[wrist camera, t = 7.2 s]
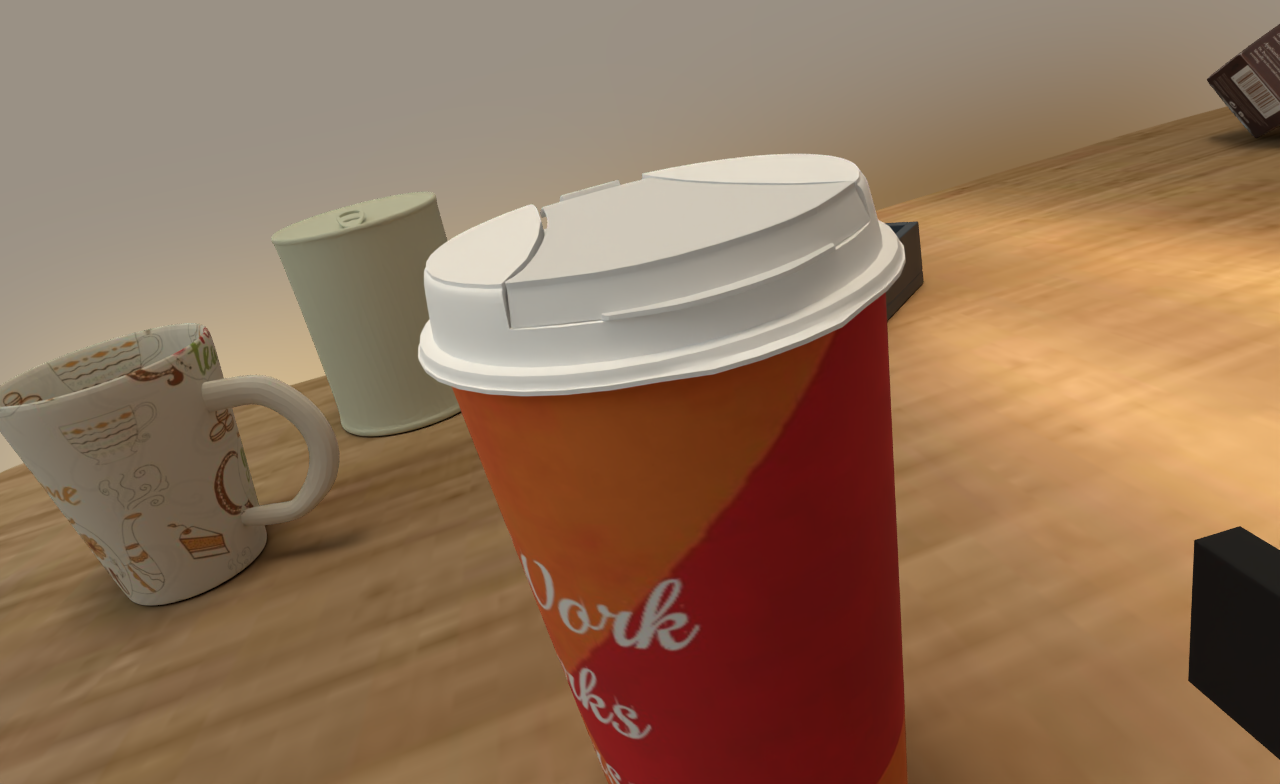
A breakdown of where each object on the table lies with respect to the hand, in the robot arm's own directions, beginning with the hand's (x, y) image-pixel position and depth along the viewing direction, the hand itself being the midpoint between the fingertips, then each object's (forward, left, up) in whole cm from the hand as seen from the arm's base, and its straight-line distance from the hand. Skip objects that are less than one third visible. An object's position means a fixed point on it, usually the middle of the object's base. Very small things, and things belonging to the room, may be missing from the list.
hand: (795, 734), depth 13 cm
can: (+36, -21, -8) cm, 43 cm away
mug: (+31, -6, -8) cm, 33 cm away
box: (-2, -71, -5) cm, 71 cm away
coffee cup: (+3, -3, -8) cm, 9 cm away
